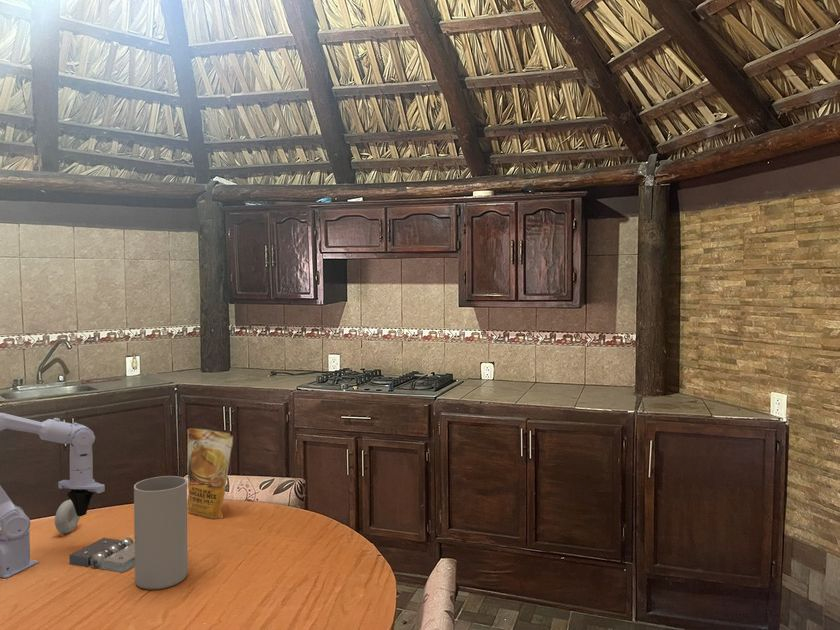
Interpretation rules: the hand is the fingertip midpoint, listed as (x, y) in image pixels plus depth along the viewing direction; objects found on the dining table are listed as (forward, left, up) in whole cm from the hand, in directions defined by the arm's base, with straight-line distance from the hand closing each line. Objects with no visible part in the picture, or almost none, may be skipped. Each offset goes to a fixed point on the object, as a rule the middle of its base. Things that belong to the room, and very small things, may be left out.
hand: (81, 515), depth 172 cm
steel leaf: (-2, -16, -10) cm, 19 cm away
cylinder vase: (-8, -34, -10) cm, 36 cm away
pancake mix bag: (+35, -17, -10) cm, 40 cm away
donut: (+9, +14, -10) cm, 20 cm away
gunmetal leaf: (-2, -9, -10) cm, 14 cm away
